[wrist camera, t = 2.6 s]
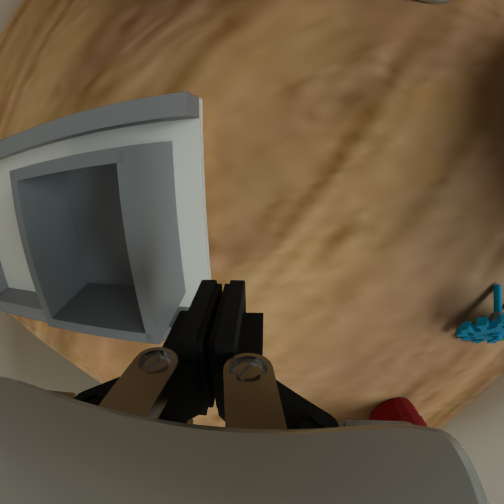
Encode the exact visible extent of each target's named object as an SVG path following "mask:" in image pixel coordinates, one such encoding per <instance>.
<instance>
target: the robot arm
mask: <svg viewBox="0 0 504 504" xmlns="http://www.w3.org/2000/svg"><path fill="white" fill-rule="evenodd" d="M419 1H423V2H428V3H438V4H440V3H447V2H449V1H451V0H419ZM262 354H263V313H246V300H245V281H239V280H231V281H230V284H225V286H224V289H223V293H222V284H217V281H216V280H202V281H201V283H200V285H199V287H198V290H197V292H196V294H195V296H194V298H193V301H192V303H191V305H190V307H189V310H188V311H185V310H181V311H180V312H179V314H178V316H177V318H176V320H175V322H174V324H173V326H172V328H171V330H170V332H169V334H168V336H167V338H166V341H165V343H164V345H163V347H154V348H149V349H146V350H144V351H142V352H141V353H139V354H138V355H137V356H136V357H135V359H134V360H133V361H132V363H131V364H130V365H129V366H128V368H127V369H126V370H125V371H124V373H123V374H122V375H121V377H118V378H116V379H113V380H111V381H108V382H106V383H103V384H101V385H98V386H96V387H93V388H90V389H88V390H86V391H83V392H81V393H79V394H78V395H77V396H76V394H75V393H71V392H59V391H50V390H45V389H42V388H39V387H37V386H34V385H31V384H28V383H25V382H22V381H18V380H15V379H11V378H6V377H0V504H489V503H488V500H487V497H486V494H485V491H484V489H483V486H482V484H481V481H480V479H479V476H478V474H477V472H476V470H475V468H474V465H473V463H472V461H471V460H470V458H469V456H468V455H467V453H466V451H465V450H464V448H463V447H462V445H461V444H460V443H459V442H458V441H457V440H456V438H454V437H453V436H452V435H450V434H449V433H447V432H445V431H443V430H440V429H436V428H432V427H428V426H420V425H414V424H412V423H410V422H405V421H378V420H360V419H347V418H346V421H345V422H343V421H336V419H335V418H333V417H332V416H331V415H330V414H328V413H327V412H325V411H323V410H322V409H320V408H318V407H317V406H315V405H314V404H312V403H311V402H309V401H307V400H306V399H304V398H303V397H301V396H300V395H298V394H297V393H295V392H293V391H292V390H290V389H289V388H287V387H286V386H284V385H283V384H281V383H280V382H279V381H277V380H276V379H275V374H274V370H273V366H272V364H271V362H270V361H269V360H268V359H267V358H266V357H264V356H262ZM214 400H216V406H217V408H218V413H219V416H220V417H221V418H222V419H223V420H224V421H225V427H215V426H205V425H195V424H193V418H194V417H195V416H197V415H206V414H207V409H208V407H213V405H214Z"/></svg>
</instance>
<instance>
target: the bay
mask: <svg viewBox="0 0 504 504" xmlns="http://www.w3.org/2000/svg"><path fill="white" fill-rule="evenodd" d="M167 141H172V147H173V167H174V183H175V196H176V209H177V220H178V231H179V240H180V250H181V259H182V267H183V275H184V283H185V290H186V293H185V295H184V297H183V299H182V301H181V303H180V305H179V307H178V309H177V311H176V313H175V315H174V317H173V319H172V321H171V323H170V325H169V327H168V329H167V331H166V333H165V335H164V337H163V339H162V341H166V338H167V336H168V334H169V332H170V330H171V328H172V326H173V324H174V322H175V320H176V318H177V316H178V314H179V312H180V311H181V310H185V311H188V310H189V307H190V305H191V303H192V301H193V298H194V296H195V294H196V292H197V290H198V287H199V285H200V283H201V281H202V280H211V270H210V257H209V244H208V229H207V213H206V195H205V174H204V149H203V110H202V99H201V98H199V97H197V96H195V95H193V94H191V93H189V92H180V93H172V94H165V95H158V96H152V97H146V98H140V99H135V100H130V101H125V102H120V103H115V104H111V105H106V106H102V107H98V108H94V109H90V110H86V111H83V112H79V113H76V114H72V115H69V116H65V117H62V118H59V119H56V120H53V121H50V122H47V123H44V124H41V125H38V126H35V127H33V128H30V129H27V130H25V131H22V132H20V133H17V134H15V135H12V136H10V137H8V138H5V139H3V140H1V141H0V311H4V312H7V313H11V314H15V315H19V316H23V317H27V318H31V319H35V320H39V321H44V322H47V320H46V318H45V315H44V313H43V310H42V307H41V305H40V302H39V299H38V296H37V293H36V290H35V287H34V284H33V281H32V278H31V275H30V272H29V268H28V265H27V261H26V257H25V254H24V250H23V246H22V242H21V238H20V233H19V229H18V224H17V219H16V214H15V208H14V202H13V196H12V189H11V181H10V173H9V171H11V170H15V169H18V168H22V167H25V166H29V165H33V164H37V163H41V162H45V161H49V160H53V159H58V158H62V157H67V156H71V155H76V154H81V153H87V152H92V151H97V150H103V149H109V148H116V147H122V146H129V145H138V144H147V143H156V142H167Z"/></svg>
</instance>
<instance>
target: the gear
mask: <svg viewBox="0 0 504 504" xmlns="http://www.w3.org/2000/svg"><path fill="white" fill-rule="evenodd" d="M493 288H494V313H492V314H491V321H489V317H478V318H477V322H476V325H474V324H472V322H471V321H467V322H463V323H461V327H458V328H457V329H456V337H461V340H462V341H467V340H472V342H474V343H480V342H482V341H486V340H487V343H496V342H497V341H504V312H502V292H501V285H499V284H497V285H494V286H493Z"/></svg>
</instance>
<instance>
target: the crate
mask: <svg viewBox="0 0 504 504" xmlns="http://www.w3.org/2000/svg"><path fill="white" fill-rule="evenodd" d="M9 173H10V181H11V189H12V196H13V202H14V208H15V214H16V219H17V224H18V229H19V233H20V238H21V242H22V246H23V250H24V254H25V257H26V261H27V265H28V268H29V272H30V275H31V278H32V281H33V284H34V287H35V290H36V293H37V296H38V299H39V302H40V305H41V307H42V310H43V313H44V315H45V318H46V320H47V323H48V325H49V326H52V327H56V328H61V329H66V330H71V331H76V332H81V333H86V334H92V335H97V336H103V337H109V338H115V339H122V340H129V341H136V342H144V343H152V344H160V343H161V341H162V339H163V337H164V335H165V333H166V331H167V329H168V327H169V325H170V323H171V321H172V319H173V317H174V315H175V313H176V311H177V309H178V307H179V305H180V303H181V301H182V299H183V297H184V295H185V293H186V290H185V283H184V275H183V267H182V259H181V250H180V240H179V231H178V220H177V209H176V196H175V183H174V167H173V147H172V141H167V142H156V143H147V144H138V145H129V146H122V147H116V148H109V149H103V150H97V151H92V152H87V153H81V154H76V155H71V156H67V157H62V158H58V159H53V160H49V161H45V162H41V163H37V164H33V165H29V166H25V167H22V168H18V169H15V170H11V171H9Z"/></svg>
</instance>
